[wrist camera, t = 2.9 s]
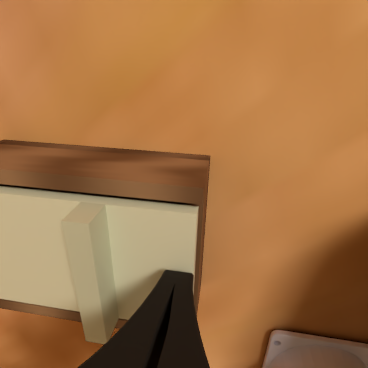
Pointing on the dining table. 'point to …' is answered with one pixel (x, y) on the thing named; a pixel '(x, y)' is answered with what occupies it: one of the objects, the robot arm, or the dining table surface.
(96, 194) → the walnut box
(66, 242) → the cover plate
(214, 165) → the dining table surface
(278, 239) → the dining table surface
